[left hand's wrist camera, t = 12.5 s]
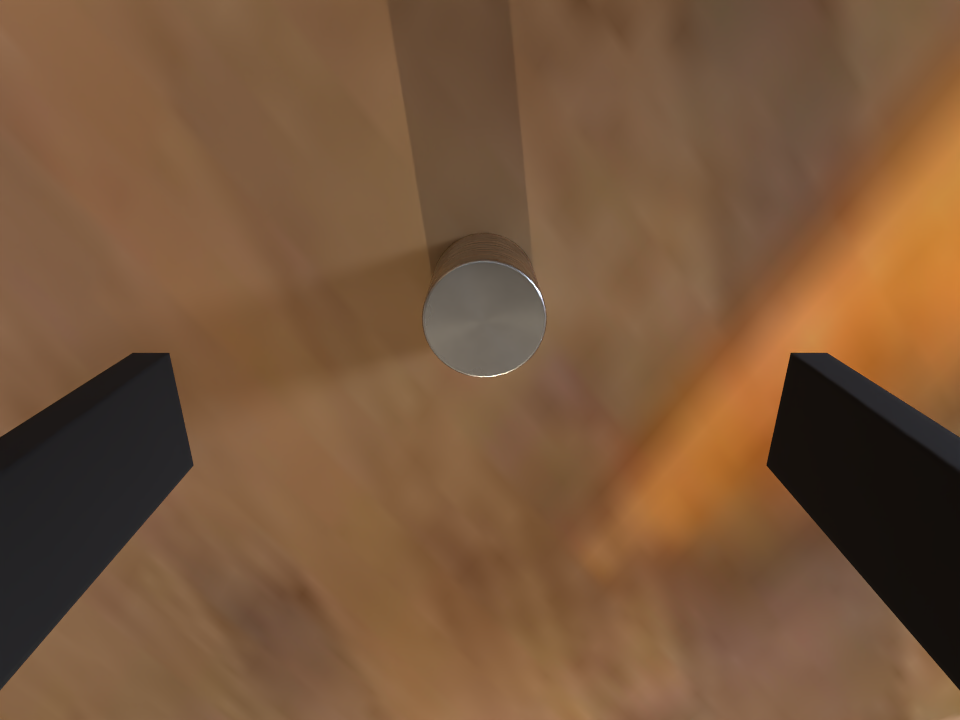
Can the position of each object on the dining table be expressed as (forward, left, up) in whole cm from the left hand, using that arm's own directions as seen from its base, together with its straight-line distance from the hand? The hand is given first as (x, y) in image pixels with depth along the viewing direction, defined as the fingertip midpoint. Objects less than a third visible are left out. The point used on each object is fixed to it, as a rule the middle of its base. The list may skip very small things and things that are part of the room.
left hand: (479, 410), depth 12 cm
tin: (0, 0, -9) cm, 9 cm away
